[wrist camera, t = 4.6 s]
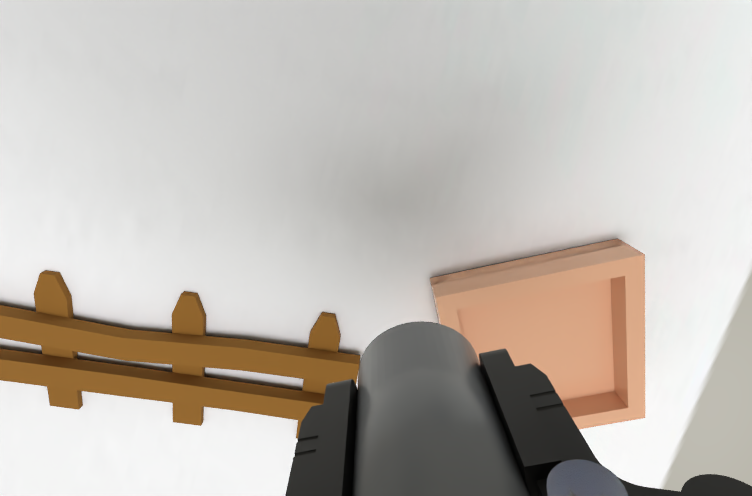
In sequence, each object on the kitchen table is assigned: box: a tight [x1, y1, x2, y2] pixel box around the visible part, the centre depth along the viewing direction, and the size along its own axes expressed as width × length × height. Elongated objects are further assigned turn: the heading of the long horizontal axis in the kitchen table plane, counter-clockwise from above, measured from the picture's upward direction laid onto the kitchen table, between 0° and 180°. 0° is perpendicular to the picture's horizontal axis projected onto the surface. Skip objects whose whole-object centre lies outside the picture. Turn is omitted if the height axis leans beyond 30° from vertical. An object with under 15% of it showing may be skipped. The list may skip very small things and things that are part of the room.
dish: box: [430, 239, 645, 429], centre depth 25 cm, size 11×11×2 cm
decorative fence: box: [0, 270, 360, 438], centre depth 26 cm, size 25×2×10 cm
